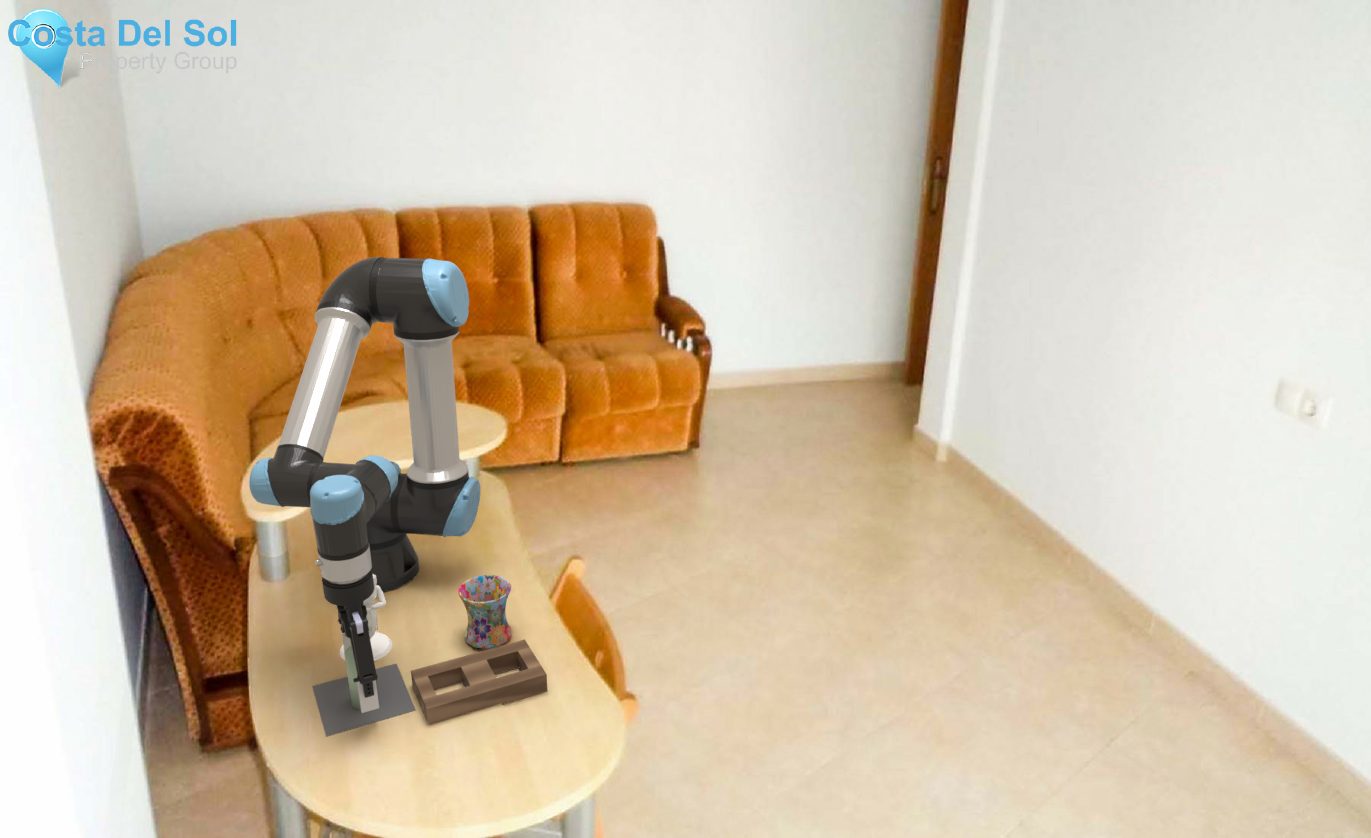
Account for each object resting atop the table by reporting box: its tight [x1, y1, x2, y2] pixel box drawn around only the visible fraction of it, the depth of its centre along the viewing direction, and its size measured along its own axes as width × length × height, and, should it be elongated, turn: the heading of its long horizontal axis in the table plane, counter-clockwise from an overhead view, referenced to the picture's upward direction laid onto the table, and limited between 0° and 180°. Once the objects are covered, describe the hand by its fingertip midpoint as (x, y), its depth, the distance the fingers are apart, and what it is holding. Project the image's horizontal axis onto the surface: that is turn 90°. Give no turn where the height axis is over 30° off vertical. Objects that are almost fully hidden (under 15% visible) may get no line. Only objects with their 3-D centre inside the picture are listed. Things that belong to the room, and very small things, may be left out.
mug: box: [457, 574, 513, 650], centre depth 180 cm, size 12×9×11 cm
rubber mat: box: [312, 662, 417, 737], centre depth 164 cm, size 14×14×1 cm
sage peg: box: [344, 646, 361, 709], centre depth 161 cm, size 4×4×10 cm
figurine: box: [339, 574, 393, 662], centre depth 174 cm, size 10×10×18 cm
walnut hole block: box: [410, 639, 548, 726], centre depth 166 cm, size 11×20×4 cm, turn 118°
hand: (362, 687), depth 162 cm, fingers open, 12 cm apart
